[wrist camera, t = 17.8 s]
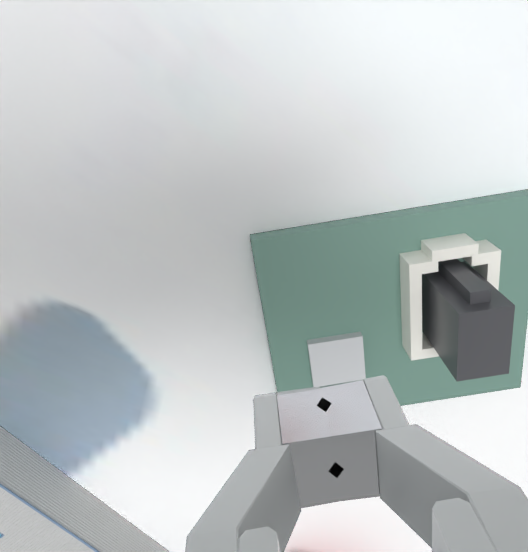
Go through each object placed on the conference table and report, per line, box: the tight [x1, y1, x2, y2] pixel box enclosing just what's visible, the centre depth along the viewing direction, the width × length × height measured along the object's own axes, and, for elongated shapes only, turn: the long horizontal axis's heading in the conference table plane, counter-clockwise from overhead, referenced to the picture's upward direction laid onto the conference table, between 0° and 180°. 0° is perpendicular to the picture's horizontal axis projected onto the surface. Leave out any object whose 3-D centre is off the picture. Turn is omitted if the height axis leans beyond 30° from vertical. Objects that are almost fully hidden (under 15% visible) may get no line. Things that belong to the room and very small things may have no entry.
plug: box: [422, 259, 515, 382], centre depth 37 cm, size 4×7×8 cm, turn 9°
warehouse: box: [0, 426, 169, 552], centre depth 49 cm, size 30×14×8 cm, turn 37°
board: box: [250, 189, 528, 406], centre depth 42 cm, size 24×20×4 cm
